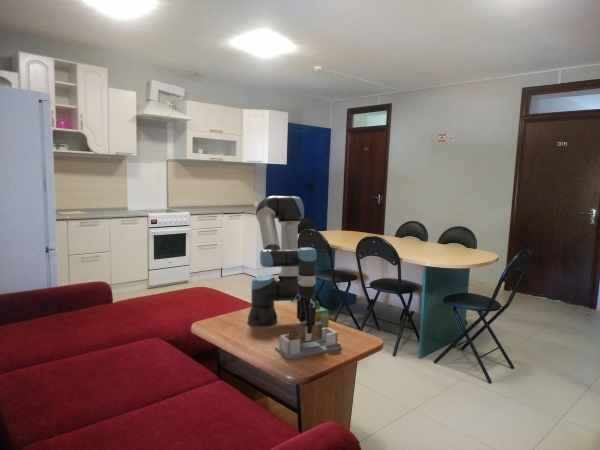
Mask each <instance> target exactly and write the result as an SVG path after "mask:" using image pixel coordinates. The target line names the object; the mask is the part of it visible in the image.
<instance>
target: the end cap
mask: <svg viewBox="0 0 600 450" xmlns="http://www.w3.org/2000/svg"><path fill="white" fill-rule="evenodd" d="M338 337H339V333H338V332H337V331H335V330H334V329H332V328H331V327H329V326H328V327H326V328H322V340H318V341H323V340H325V346H329V345H334V344H338Z"/></svg>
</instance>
